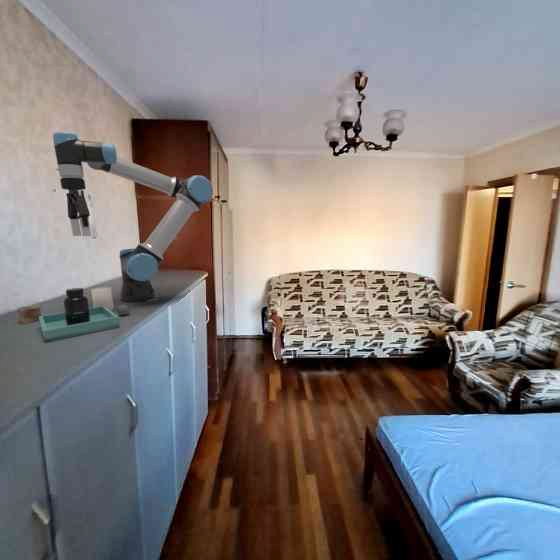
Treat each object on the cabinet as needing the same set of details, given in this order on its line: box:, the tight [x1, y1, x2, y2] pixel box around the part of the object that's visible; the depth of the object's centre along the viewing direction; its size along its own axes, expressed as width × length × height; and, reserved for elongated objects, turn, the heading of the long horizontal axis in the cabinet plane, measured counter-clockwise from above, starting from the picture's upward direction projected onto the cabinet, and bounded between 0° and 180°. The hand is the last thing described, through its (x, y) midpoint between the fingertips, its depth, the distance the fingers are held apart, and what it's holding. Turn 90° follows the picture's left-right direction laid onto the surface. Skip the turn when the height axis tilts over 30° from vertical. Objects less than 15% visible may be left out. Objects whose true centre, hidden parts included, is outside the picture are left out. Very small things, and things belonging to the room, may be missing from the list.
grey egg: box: [117, 304, 130, 316], centre depth 115 cm, size 4×4×4 cm
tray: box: [38, 306, 120, 343], centre depth 103 cm, size 20×20×4 cm
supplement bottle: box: [63, 287, 90, 326], centre depth 102 cm, size 7×7×12 cm
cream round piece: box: [90, 286, 115, 312], centre depth 122 cm, size 7×7×9 cm
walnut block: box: [17, 305, 42, 325], centre depth 110 cm, size 5×5×5 cm
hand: (81, 236), depth 116 cm, fingers open, 13 cm apart
